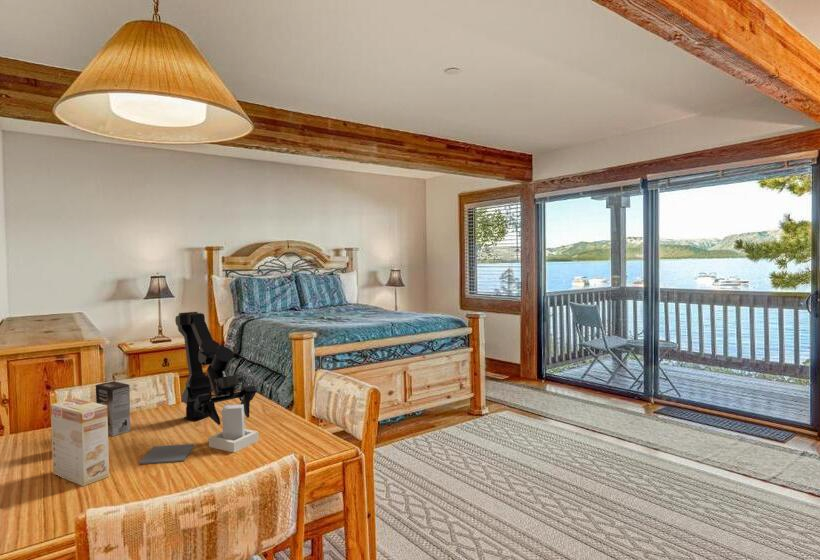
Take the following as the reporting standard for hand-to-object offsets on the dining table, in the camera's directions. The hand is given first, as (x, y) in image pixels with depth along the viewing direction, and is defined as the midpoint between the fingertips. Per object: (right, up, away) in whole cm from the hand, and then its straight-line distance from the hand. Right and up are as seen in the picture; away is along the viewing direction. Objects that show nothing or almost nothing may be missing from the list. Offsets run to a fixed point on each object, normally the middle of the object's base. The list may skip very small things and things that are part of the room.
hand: (234, 420), depth 152 cm
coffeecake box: (-34, -9, -21) cm, 41 cm away
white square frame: (0, -8, +1) cm, 8 cm away
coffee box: (-45, -7, +12) cm, 47 cm away
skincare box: (0, -8, +1) cm, 8 cm away
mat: (-17, -8, -7) cm, 20 cm away
